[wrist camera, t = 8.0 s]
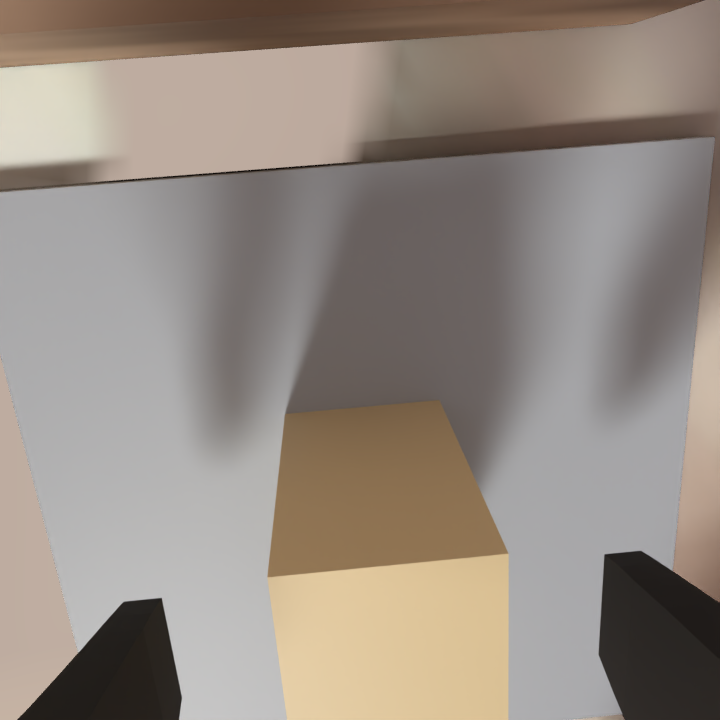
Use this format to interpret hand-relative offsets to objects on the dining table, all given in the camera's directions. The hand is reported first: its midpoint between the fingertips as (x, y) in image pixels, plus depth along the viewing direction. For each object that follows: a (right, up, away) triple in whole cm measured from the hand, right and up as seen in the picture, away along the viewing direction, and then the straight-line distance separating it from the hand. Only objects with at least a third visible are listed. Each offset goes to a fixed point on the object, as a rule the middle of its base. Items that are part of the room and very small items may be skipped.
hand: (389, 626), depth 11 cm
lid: (0, +2, +4) cm, 4 cm away
